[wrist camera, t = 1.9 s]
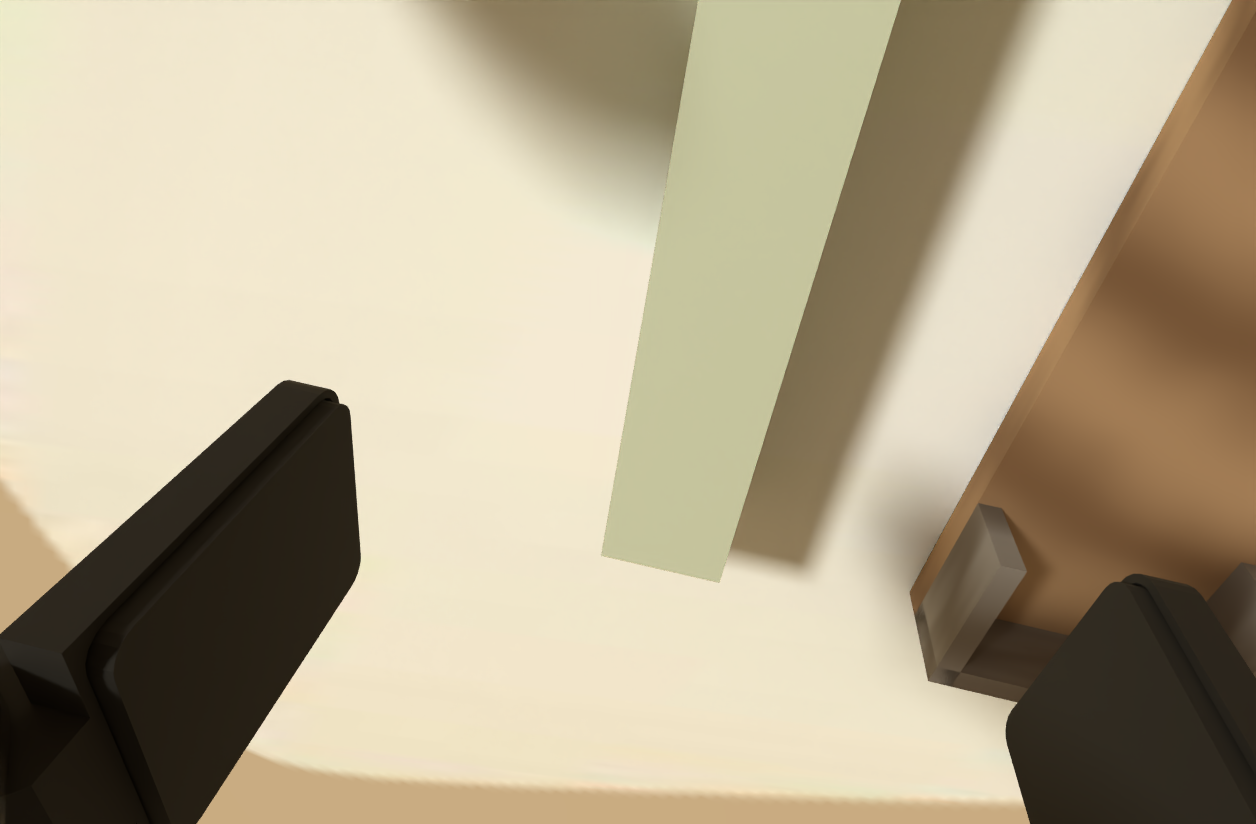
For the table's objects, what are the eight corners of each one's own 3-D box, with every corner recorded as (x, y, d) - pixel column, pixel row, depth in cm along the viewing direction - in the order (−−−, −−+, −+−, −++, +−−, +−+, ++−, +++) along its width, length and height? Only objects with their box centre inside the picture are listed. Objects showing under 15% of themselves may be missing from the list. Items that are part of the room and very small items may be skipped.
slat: (768, -308, 16) (766, -393, 12) (950, -279, 16) (1012, -356, 12) (626, 465, 28) (601, 555, 24) (727, 488, 28) (719, 583, 24)
